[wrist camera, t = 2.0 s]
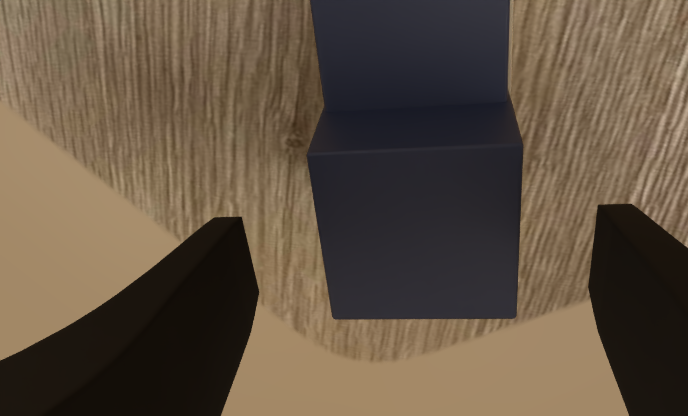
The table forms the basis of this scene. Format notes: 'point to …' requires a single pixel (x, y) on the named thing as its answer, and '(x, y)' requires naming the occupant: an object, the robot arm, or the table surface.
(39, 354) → the robot arm
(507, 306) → the dark stepped block
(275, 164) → the table surface
